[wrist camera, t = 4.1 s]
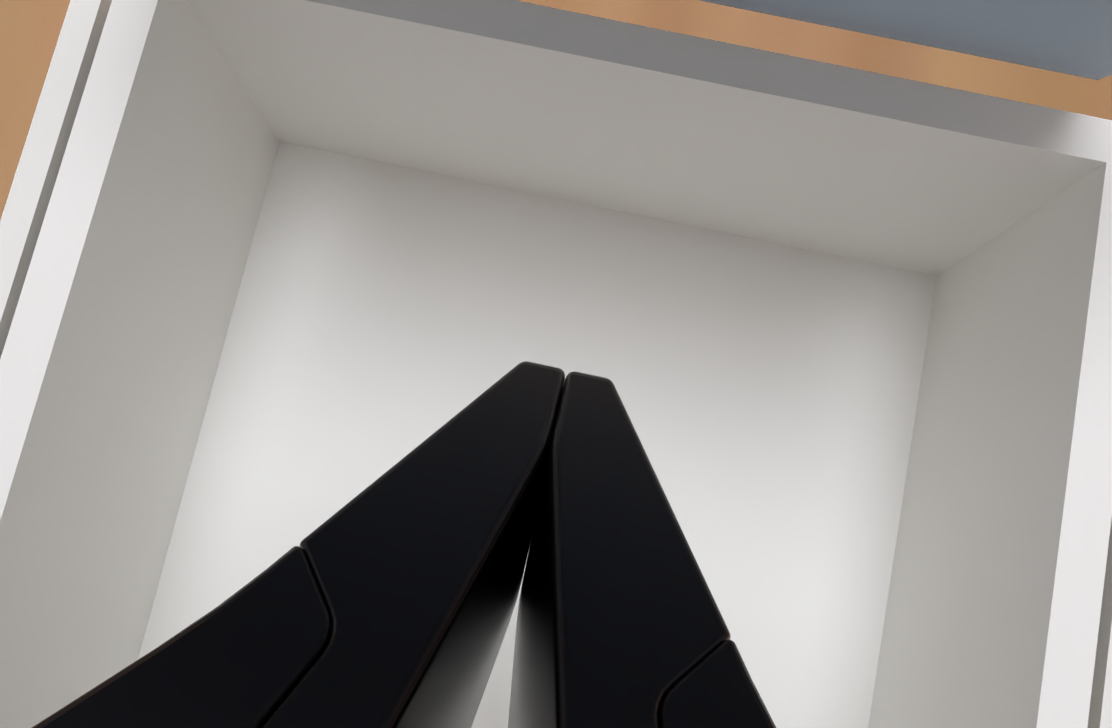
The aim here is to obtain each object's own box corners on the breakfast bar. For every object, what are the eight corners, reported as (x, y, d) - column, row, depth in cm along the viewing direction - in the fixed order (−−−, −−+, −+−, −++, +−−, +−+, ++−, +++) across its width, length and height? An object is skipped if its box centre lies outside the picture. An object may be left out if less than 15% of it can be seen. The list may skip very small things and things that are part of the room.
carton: (892, 951, 18) (1089, 1184, 11) (52, 763, 18) (-217, 886, 12) (989, 267, 20) (1201, 138, 13) (236, 112, 20) (93, -85, 14)
